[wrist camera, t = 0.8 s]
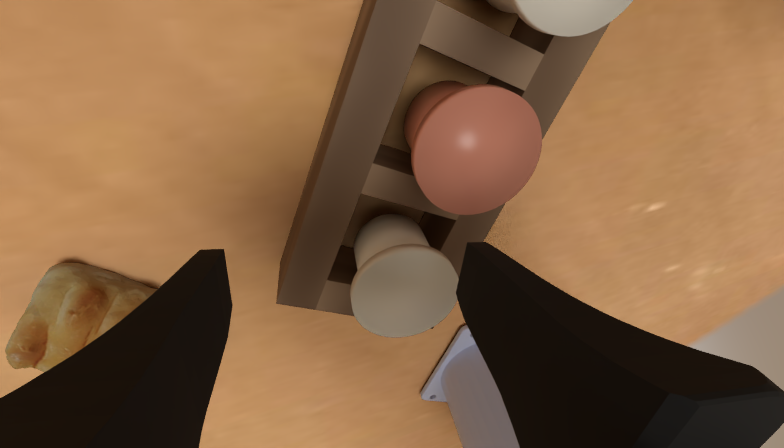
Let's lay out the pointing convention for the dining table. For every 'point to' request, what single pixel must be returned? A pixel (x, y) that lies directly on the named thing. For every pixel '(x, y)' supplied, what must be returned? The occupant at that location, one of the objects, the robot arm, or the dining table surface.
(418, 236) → the cream plug
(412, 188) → the plug block
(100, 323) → the pastry
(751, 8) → the dining table surface
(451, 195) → the red plug
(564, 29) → the cream plug
